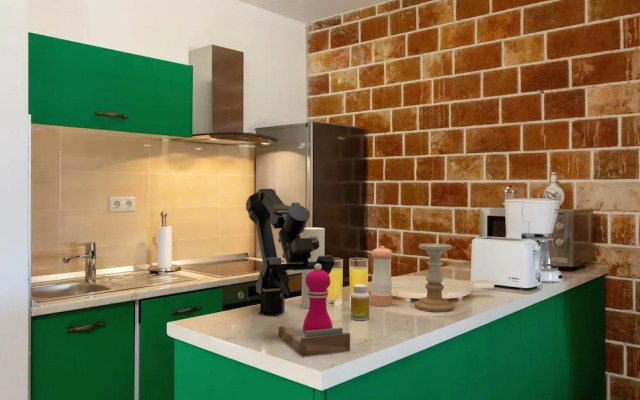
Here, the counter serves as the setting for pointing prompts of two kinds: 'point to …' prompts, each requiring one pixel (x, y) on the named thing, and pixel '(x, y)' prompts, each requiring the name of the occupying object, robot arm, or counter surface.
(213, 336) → the counter surface
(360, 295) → the supplement bottle
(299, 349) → the lane
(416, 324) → the counter surface
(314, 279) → the pepper mill
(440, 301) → the candle holder
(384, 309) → the counter surface
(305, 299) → the cylindrical container
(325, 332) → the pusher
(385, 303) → the salt shaker
